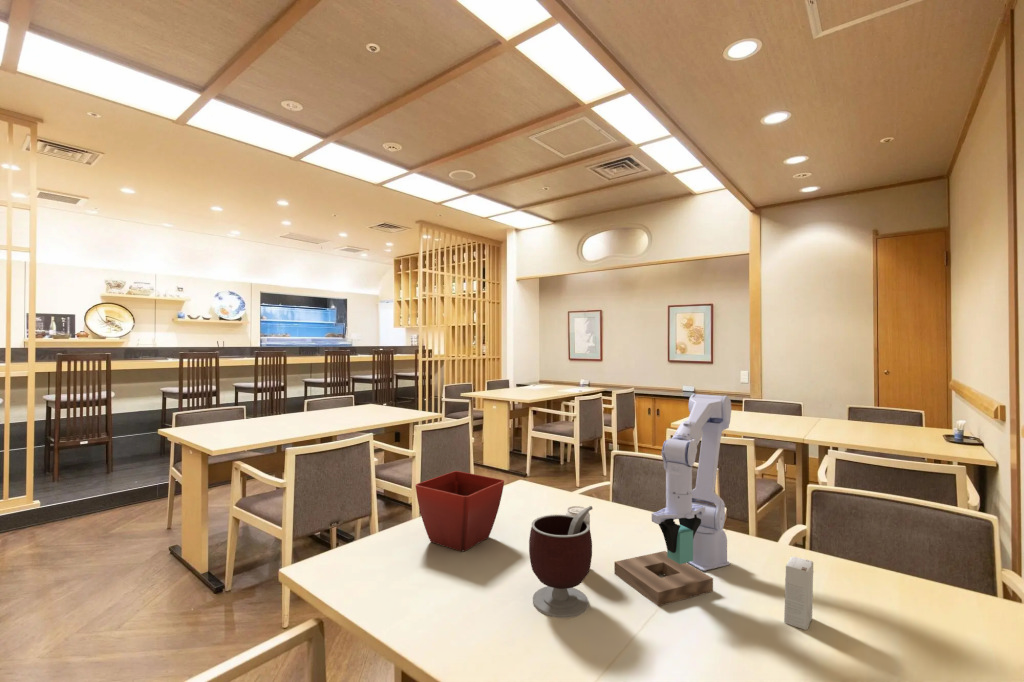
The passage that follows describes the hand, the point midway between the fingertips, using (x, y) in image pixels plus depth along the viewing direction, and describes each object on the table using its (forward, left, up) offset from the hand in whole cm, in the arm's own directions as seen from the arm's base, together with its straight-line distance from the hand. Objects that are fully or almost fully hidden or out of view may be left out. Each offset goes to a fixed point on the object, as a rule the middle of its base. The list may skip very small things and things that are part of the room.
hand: (678, 549), depth 112 cm
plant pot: (+38, -47, -10) cm, 62 cm away
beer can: (+16, -18, -10) cm, 26 cm away
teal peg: (0, 0, -2) cm, 2 cm away
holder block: (+1, -4, -9) cm, 10 cm away
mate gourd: (+27, -6, -10) cm, 30 cm away
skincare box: (-14, +20, -10) cm, 26 cm away
